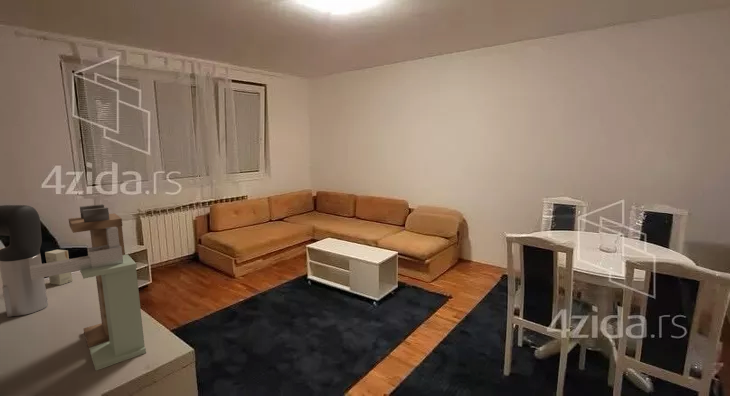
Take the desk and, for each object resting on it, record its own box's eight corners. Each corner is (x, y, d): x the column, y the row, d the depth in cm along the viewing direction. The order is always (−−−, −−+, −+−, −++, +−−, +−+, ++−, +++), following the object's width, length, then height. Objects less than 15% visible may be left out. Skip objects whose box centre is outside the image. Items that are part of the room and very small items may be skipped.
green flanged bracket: (95, 370, 80) (82, 274, 76) (90, 352, 87) (78, 263, 83) (146, 352, 86) (136, 263, 83) (137, 337, 94) (127, 254, 90)
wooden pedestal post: (88, 347, 89) (70, 212, 84) (83, 332, 96) (66, 207, 91) (134, 332, 96) (120, 207, 90) (127, 319, 103) (113, 202, 98)
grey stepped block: (31, 281, 73) (25, 241, 71) (31, 275, 76) (25, 237, 74) (123, 262, 84) (119, 228, 82) (119, 258, 87) (116, 225, 85)
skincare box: (73, 281, 133) (69, 250, 131) (60, 285, 129) (55, 253, 127) (62, 279, 135) (57, 248, 133) (48, 283, 131) (44, 252, 129)
